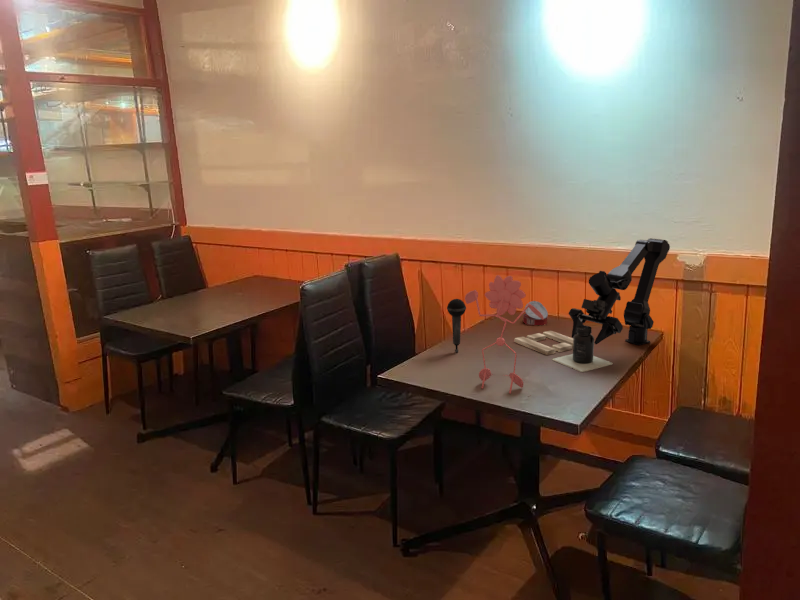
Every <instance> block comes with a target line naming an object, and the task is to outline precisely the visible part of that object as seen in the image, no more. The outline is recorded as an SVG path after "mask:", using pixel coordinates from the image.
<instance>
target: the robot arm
mask: <svg viewBox="0 0 800 600" xmlns="http://www.w3.org/2000/svg"><path fill="white" fill-rule="evenodd" d="M670 247H671V246H670V244H669V241H668V240H666V239H660V238H653V237H652V238H648V239H637V240H636V241H635V244H634V247H632V249H631V251H629V253H628V254H627V256H626V257H625V258H624V259H623V261H622V262H621V263H620V265H618V266H616V267H614V268H612V269H611V270H610V271H609V272H608V273H607V272H606V271H604V270H599V271H598V272H597V273H594V274H592V275H591V276H590V277H589V279H588V284H589V286H590V288H591V289H592V290H593V292H594V293H595V294H596V295H597V296H598V297H597V299H593V300H591V299H586V298H584V299H583V301H582V304H581V309H579V308H573V307H572V308H570V309H569V311H568V313H567V315H569V317H570V318H571V320H572V330H571V331H572V332H571V338H573V337H574V335H575V334H577V332H576V331H577V327H578V326H582V325H583V326H585V325H584V324H585V323H586V321H587V322H590V323H594V324H600V325H601V329H600V330H599V332H598V334H597V336H596V338H595V339H594V345H598V344H599V343H601V342H602V341H604V340H605V339H607V338H609V337H610V336H613V335H616V334H621V332H622V331H623V329H624V327H623V324H622V322H621V321H620V319H619V318H618V317H616V316H615V317H614V316H610V315H609V314H612V313H613V310H612V308H613V307H614V305H615V303H616V302H617V301H621V299H622V297H621V295H620V292H618V290H620V291H625V290H627V289H628V288H629V286H630V284H631V283H632V281H633V280H632V279H633V278H632V277H633V276H632V274H634V271H635V270H636V269H637V268H638V266H639V265H640V263H641V262H642V261H643V259H644V264H643V267H642V270H641V273H640V278H639V280H638V284H637V288H636V291H635V294H634V297H633V299H631V301H627V302H626V304H625V308H624V311H623V319H624V325H625V326H629V328H628V329H629V330H628V335H627V337H628V338H626V339H624V341H625V342H628V343H631V344H633V345H637V346H641V345H645V344H649V343H651V340H649V339H648V332H649V331H648V330H651V329H652V328H653V326H654V323H655V321H654V320H653V319H652V317H651V308H650V305H649V300H650V296H651V293H652V290H653V286H654V282H655V279H656V276H657V272H658V268H659V265H660V264H662V262H663V261H664V260H666V257H667V255H668V253H669V252H670V249H671V248H670ZM582 309H584V310H585V312H586V314H585V313H584V311H583V310H582Z"/></svg>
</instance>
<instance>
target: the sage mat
mask: <svg viewBox="0 0 800 600" xmlns="http://www.w3.org/2000/svg"><path fill="white" fill-rule="evenodd" d="M552 361H554V362H556V363H558V364H561V365H563V366H565V367H567V368H569V369H572V368H573V369H572V370H575V371H577V372H580V373H586V372H588V371H593V370H597V369H600V368H604V367H608V366H612V365H613V362H611V361H609V360H606V359H604V358H600V357H598V356H595V355H593V361H592V362H591V363H588V364H581V363H577V362H574V361H573V353H571V354H567V355H566V354H565V355H562V356H558V357H555V358H552Z"/></svg>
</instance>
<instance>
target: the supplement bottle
mask: <svg viewBox="0 0 800 600" xmlns="http://www.w3.org/2000/svg"><path fill="white" fill-rule="evenodd" d="M583 325H584V324H583ZM583 325H582V326H578V327H577V331H576V332H577V334H575V335H574V337H573V347H572V354H573V361H574V362H577V363H581V364H588V363H591V362H592V361H593V356H594V349H595V343H594V342H595V337H594V335H593V334H592V330H593V329H592V327H591V326H590V325H584V326H583Z"/></svg>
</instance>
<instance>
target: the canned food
mask: <svg viewBox="0 0 800 600" xmlns="http://www.w3.org/2000/svg"><path fill="white" fill-rule="evenodd" d="M528 303H530V304H531V305H532V306H534V307H535V308H536V309H537V310H538V311H539V312H540V313H541V314H542V315H543V318H544V320H542V319H541V318H540V317H538V316H537V315H536V314H535V313H533V312H532V311H531V309H530V308H529V307H528V308H527V309H526V311H525V312H524V313H523V314H522V316H523V317H522V319H523V320H522V321H523V322H524V323H525V324H524V323H523V322H522V323H523V324H524V325H527V326H532V325H534V327H536V326H535V325H541V326H545V325H547V324H548V315H549V314H548V313H549V312H548V310H547V308H546V307H545V306H544V305H543V304H542V302H540V301H536V300H532V301H529V302H528ZM528 303H526V305H525V307H524V309H525V308H526V307H527V305H528ZM544 324H545V325H544Z"/></svg>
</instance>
